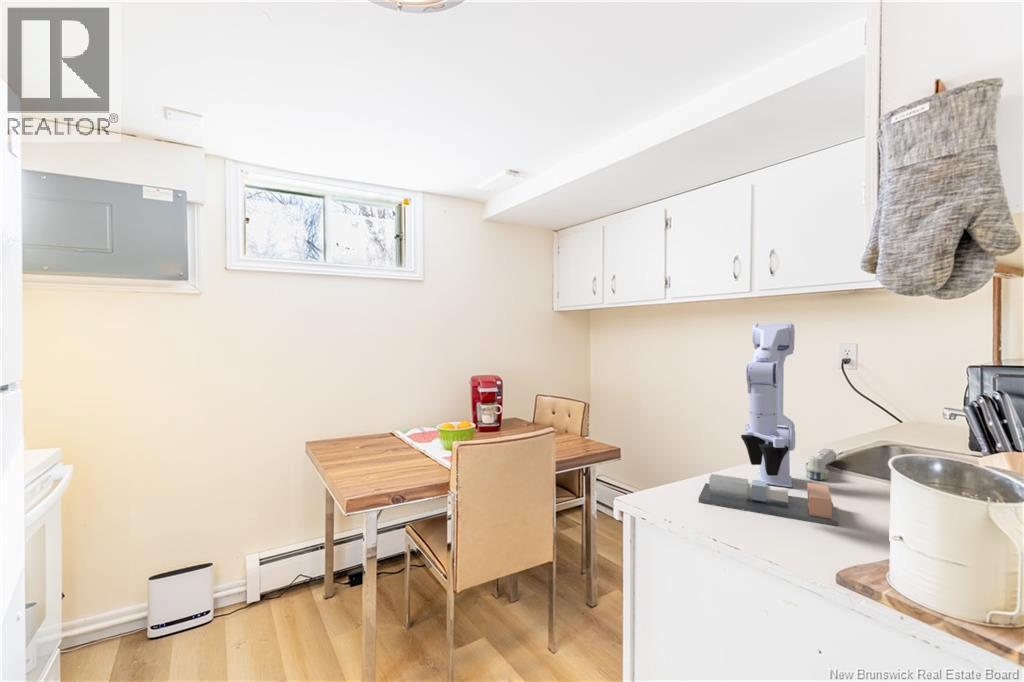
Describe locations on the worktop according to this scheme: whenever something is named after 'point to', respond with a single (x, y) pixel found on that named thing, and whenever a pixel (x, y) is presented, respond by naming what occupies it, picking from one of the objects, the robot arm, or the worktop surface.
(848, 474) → the worktop surface
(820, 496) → the socket block
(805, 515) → the sleeve base
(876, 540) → the worktop surface
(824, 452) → the handheld shower head
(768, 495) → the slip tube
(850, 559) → the worktop surface
